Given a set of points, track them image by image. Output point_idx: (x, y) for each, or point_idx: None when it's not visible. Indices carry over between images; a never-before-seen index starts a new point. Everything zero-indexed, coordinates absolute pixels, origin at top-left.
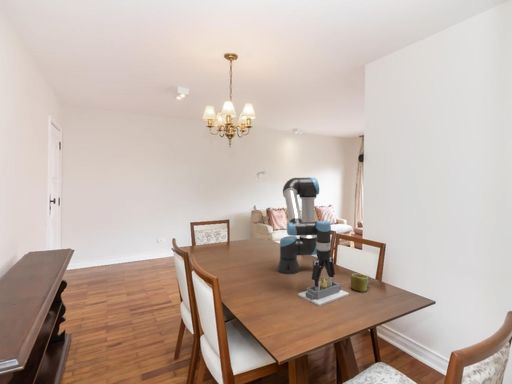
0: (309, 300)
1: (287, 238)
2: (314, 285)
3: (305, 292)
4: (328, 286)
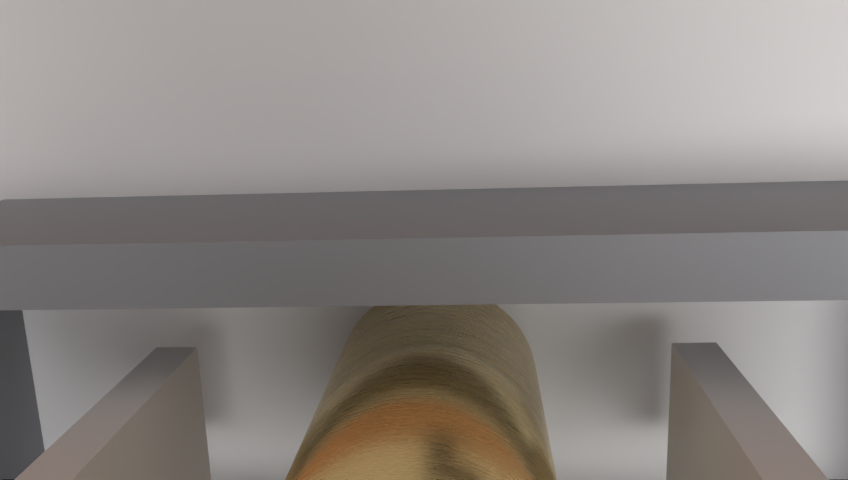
0: None
1: None
2: (197, 244)
3: (44, 49)
4: (684, 426)
